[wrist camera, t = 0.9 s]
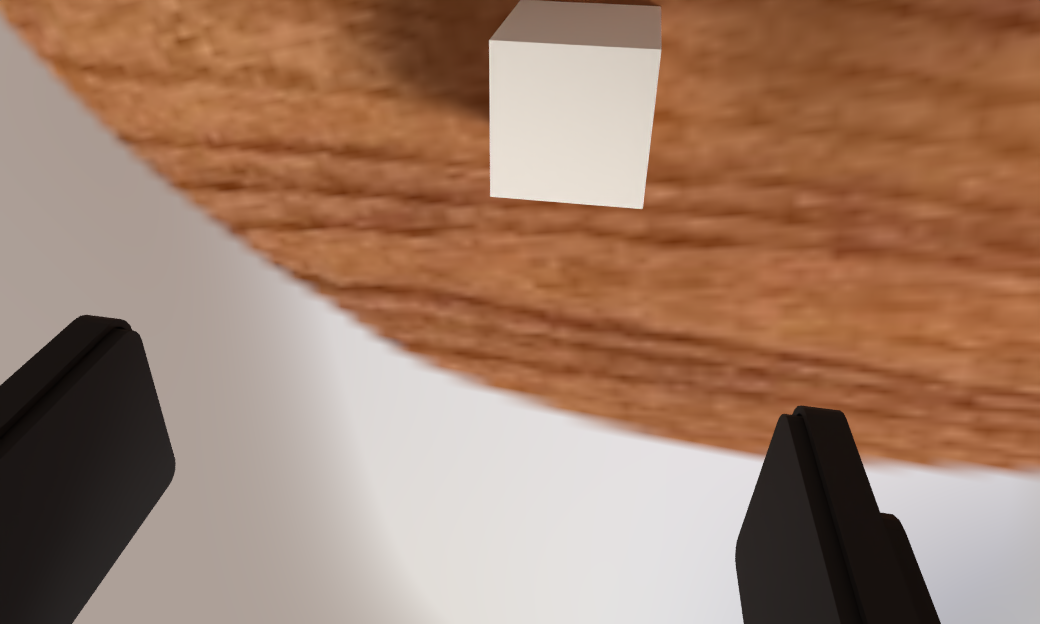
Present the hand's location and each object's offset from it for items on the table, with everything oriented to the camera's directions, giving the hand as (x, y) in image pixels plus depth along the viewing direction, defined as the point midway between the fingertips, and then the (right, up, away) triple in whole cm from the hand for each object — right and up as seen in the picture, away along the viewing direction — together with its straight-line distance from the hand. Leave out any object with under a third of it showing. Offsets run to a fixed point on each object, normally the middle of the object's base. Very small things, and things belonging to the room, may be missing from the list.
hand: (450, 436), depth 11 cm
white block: (+3, +11, +17) cm, 20 cm away
